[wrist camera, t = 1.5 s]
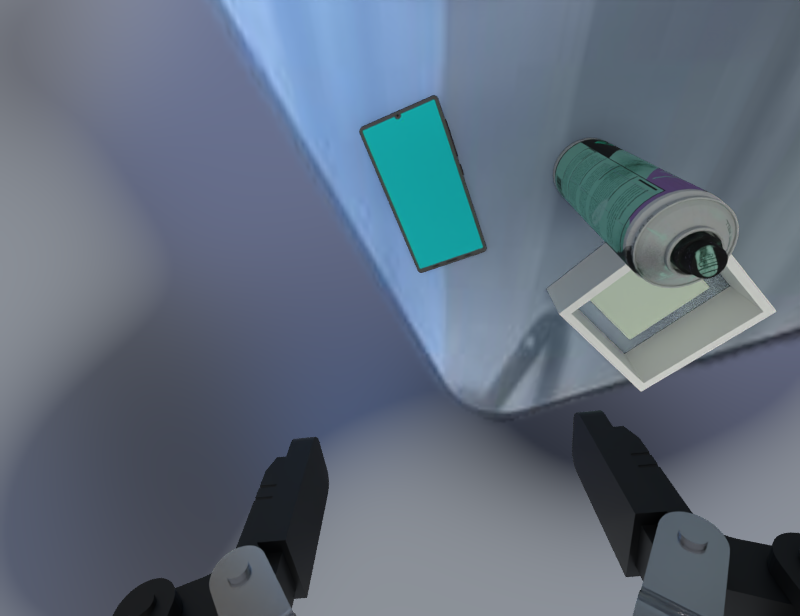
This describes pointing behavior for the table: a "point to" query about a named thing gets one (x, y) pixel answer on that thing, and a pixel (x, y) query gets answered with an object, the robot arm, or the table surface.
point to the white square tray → (655, 314)
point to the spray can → (647, 214)
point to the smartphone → (424, 184)
